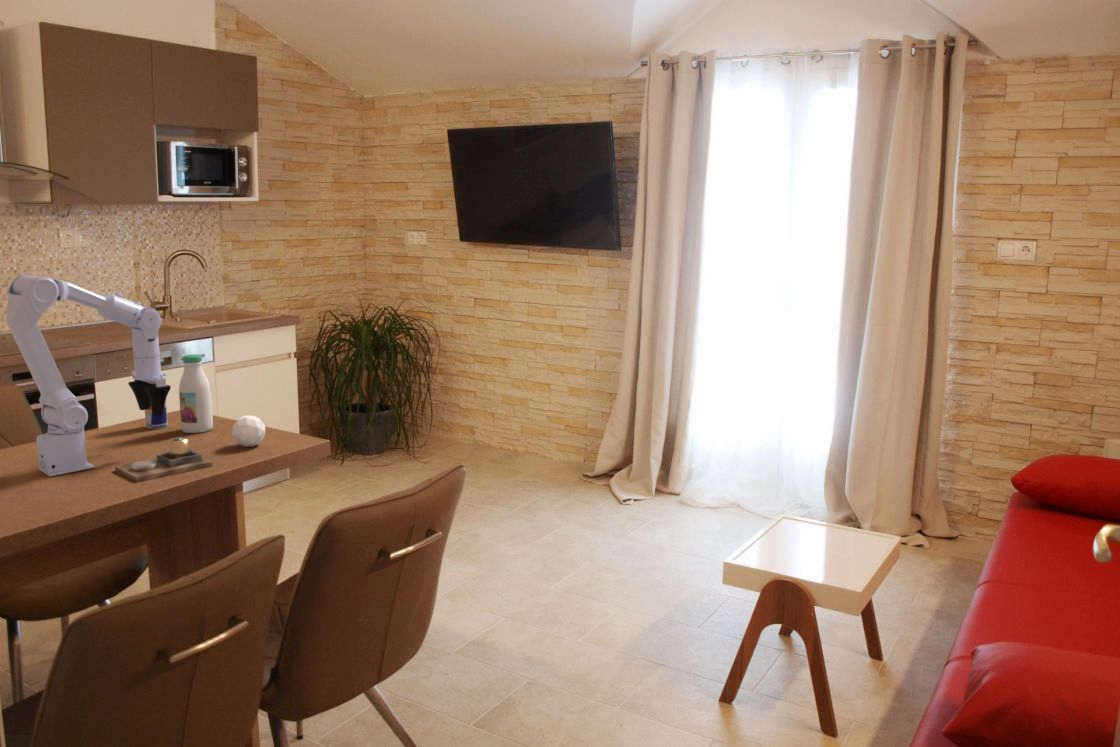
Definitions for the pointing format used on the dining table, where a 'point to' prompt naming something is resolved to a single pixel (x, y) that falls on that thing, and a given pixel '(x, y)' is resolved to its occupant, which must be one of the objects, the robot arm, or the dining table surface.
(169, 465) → the carrier board
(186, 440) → the gold knobbed cylinder
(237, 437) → the geometric ball
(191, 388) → the milk bottle
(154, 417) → the energy drink
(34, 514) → the dining table surface
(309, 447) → the dining table surface
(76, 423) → the robot arm
